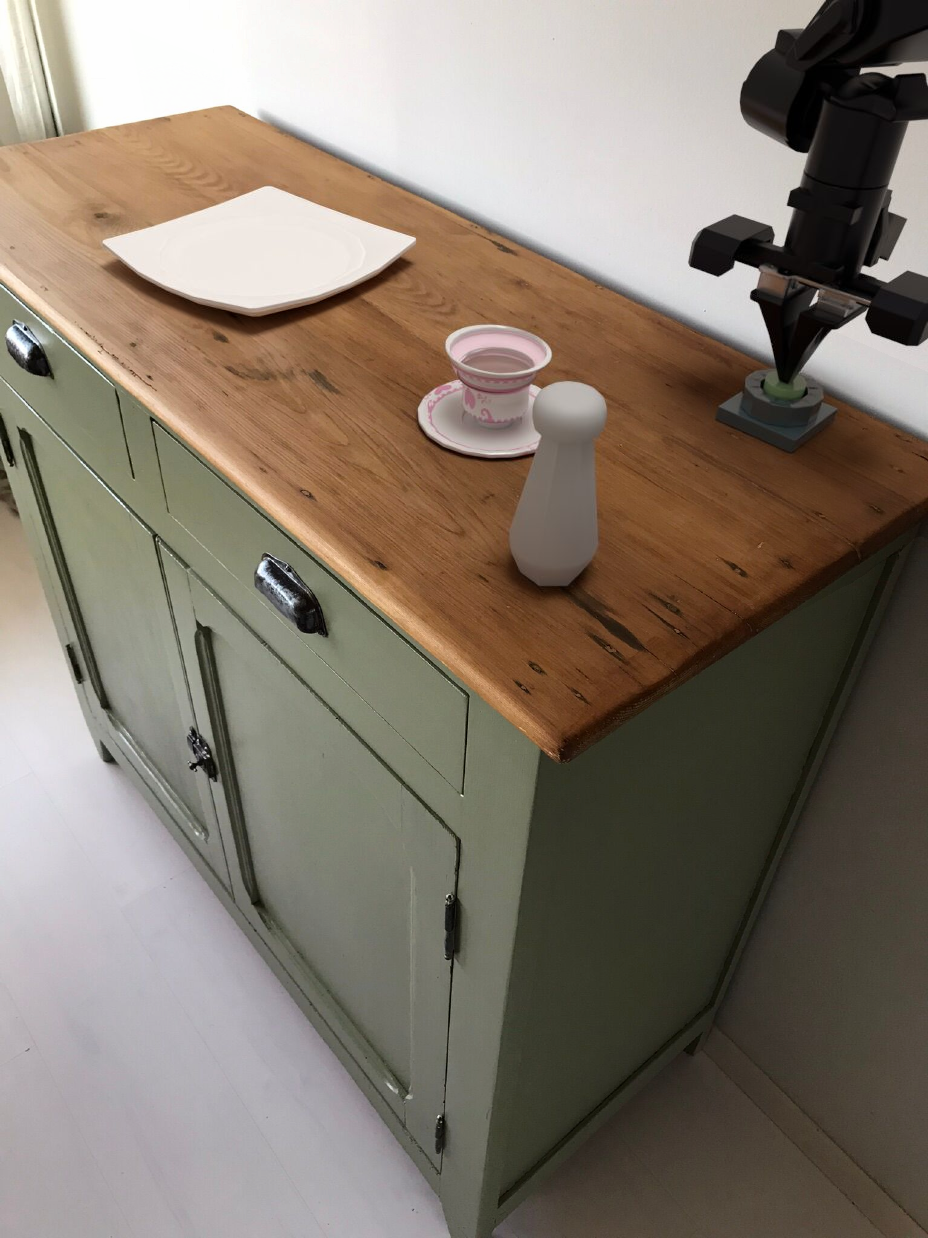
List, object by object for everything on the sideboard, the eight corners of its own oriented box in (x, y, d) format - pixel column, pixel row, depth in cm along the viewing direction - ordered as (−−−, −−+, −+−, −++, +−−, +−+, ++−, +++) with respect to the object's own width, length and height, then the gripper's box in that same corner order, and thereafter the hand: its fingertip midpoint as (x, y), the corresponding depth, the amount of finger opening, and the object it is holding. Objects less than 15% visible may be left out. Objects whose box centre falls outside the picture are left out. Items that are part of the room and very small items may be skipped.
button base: (833, 421, 79) (844, 388, 77) (791, 453, 75) (801, 420, 73) (759, 389, 82) (768, 357, 80) (715, 419, 78) (722, 386, 76)
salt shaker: (548, 608, 61) (571, 430, 52) (488, 563, 64) (500, 388, 55) (611, 571, 63) (642, 397, 55) (550, 530, 67) (571, 359, 58)
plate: (255, 346, 85) (252, 317, 83) (89, 267, 96) (83, 241, 94) (433, 264, 99) (434, 238, 97) (271, 204, 110) (269, 180, 108)
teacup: (595, 417, 78) (605, 347, 73) (504, 480, 71) (509, 406, 67) (481, 368, 83) (484, 300, 79) (386, 421, 76) (384, 349, 72)
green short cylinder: (806, 403, 77) (814, 380, 76) (787, 417, 76) (793, 394, 74) (772, 389, 79) (778, 366, 78) (751, 402, 77) (758, 379, 76)
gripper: (1027, 184, 65) (941, 389, 76) (784, 120, 74) (738, 311, 85) (961, 225, 59) (878, 441, 70) (706, 150, 68) (666, 352, 79)
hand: (786, 380), depth 76 cm, fingers closed, pressing on green short cylinder
